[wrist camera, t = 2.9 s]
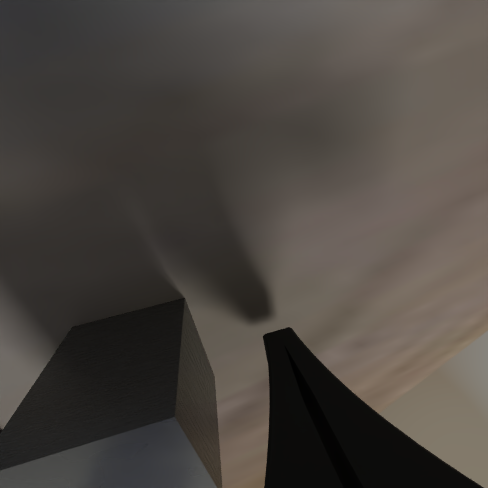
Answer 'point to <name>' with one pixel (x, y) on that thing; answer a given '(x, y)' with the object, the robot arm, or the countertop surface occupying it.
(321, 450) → the robot arm
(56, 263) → the countertop surface
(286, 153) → the countertop surface
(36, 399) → the block
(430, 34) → the countertop surface
